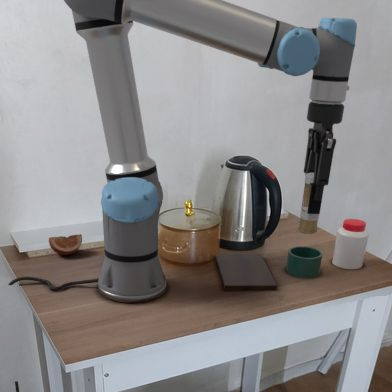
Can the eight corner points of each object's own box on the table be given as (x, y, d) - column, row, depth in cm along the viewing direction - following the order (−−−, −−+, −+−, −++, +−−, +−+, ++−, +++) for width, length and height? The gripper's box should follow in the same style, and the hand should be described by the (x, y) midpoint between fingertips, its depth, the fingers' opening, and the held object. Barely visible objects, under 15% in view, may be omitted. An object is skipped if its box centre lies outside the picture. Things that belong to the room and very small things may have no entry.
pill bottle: (360, 259, 146) (368, 218, 141) (364, 270, 140) (373, 228, 134) (330, 257, 147) (337, 216, 141) (333, 268, 140) (341, 226, 135)
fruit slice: (79, 248, 146) (78, 229, 144) (86, 256, 141) (85, 238, 139) (47, 252, 143) (45, 233, 141) (54, 261, 138) (52, 242, 136)
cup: (290, 278, 134) (292, 258, 132) (283, 264, 141) (285, 246, 139) (323, 277, 135) (326, 258, 132) (314, 264, 142) (317, 246, 139)
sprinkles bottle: (295, 228, 134) (303, 171, 127) (312, 228, 135) (321, 172, 128) (301, 235, 130) (309, 177, 124) (319, 234, 131) (329, 177, 124)
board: (224, 290, 127) (225, 285, 126) (215, 257, 144) (215, 253, 143) (276, 290, 128) (276, 285, 127) (260, 257, 145) (261, 253, 144)
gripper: (357, 108, 111) (337, 222, 123) (332, 97, 126) (316, 199, 138) (321, 107, 110) (304, 221, 122) (299, 96, 125) (286, 199, 137)
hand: (310, 209), depth 130 cm, fingers closed on sprinkles bottle, 5 cm apart
